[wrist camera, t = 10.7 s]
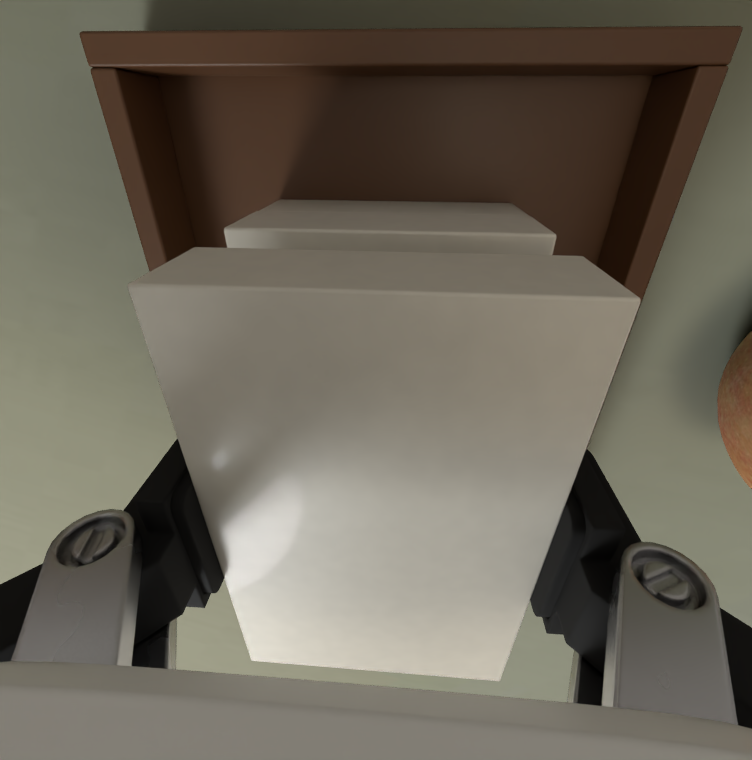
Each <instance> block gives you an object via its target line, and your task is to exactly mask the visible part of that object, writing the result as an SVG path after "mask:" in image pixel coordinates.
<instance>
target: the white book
mask: <svg viewBox="0 0 752 760" xmlns="http://www.w3.org/2000/svg"><path fill="white" fill-rule="evenodd" d="M128 290H129V293H130V296H131V299H132V302H133V305H134V308H135V311H136V314H137V317H138V320H139V323H140V326H141V329H142V332H143V335H144V338H145V341H146V344H147V347H148V350H149V353H150V356H151V359H152V362H153V365H154V368H155V371H156V374H157V377H158V380H159V383H160V386H161V389H162V392H163V395H164V398H165V401H166V404H167V408H168V411H169V414H170V417H171V420H172V423H173V426H174V429H175V432H176V435H177V438H178V441H179V444H180V447H181V450H182V453H183V456H184V459H185V462H186V465H187V468H188V471H189V474H190V477H191V480H192V483H193V486H194V489H195V492H196V495H197V498H198V501H199V504H200V507H201V510H202V513H203V516H204V519H205V522H206V525H207V528H208V531H209V534H210V537H211V540H212V543H213V546H214V549H215V552H216V555H217V558H218V561H219V564H220V567H221V570H222V573H223V576H224V579H225V582H226V585H227V588H228V591H229V594H230V597H231V600H232V603H233V606H234V609H235V612H236V615H237V618H238V621H239V624H240V627H241V630H242V633H243V636H244V639H245V642H246V645H247V648H248V651H249V654H250V657H251V660H252V661H261V662H273V663H286V664H298V665H310V666H322V667H334V668H346V669H359V670H371V671H383V672H395V673H407V674H419V675H431V676H444V677H456V678H468V679H480V680H492V681H500V679H501V677H502V674H503V671H504V669H505V666H506V663H507V661H508V658H509V655H510V653H511V650H512V647H513V644H514V642H515V639H516V636H517V634H518V631H519V628H520V626H521V623H522V620H523V618H524V615H525V612H526V609H527V607H528V604H529V601H530V599H531V596H532V593H533V591H534V588H535V585H536V583H537V580H538V577H539V574H540V572H541V569H542V566H543V564H544V561H545V558H546V556H547V553H548V550H549V548H550V545H551V542H552V539H553V537H554V534H555V531H556V529H557V526H558V523H559V521H560V518H561V515H562V513H563V510H564V507H565V504H566V502H567V499H568V496H569V494H570V491H571V488H572V486H573V483H574V480H575V478H576V475H577V472H578V469H579V467H580V464H581V461H582V459H583V456H584V453H585V451H586V448H587V445H588V443H589V440H590V437H591V434H592V432H593V429H594V426H595V424H596V421H597V418H598V416H599V413H600V410H601V408H602V405H603V402H604V399H605V397H606V394H607V391H608V389H609V386H610V383H611V381H612V378H613V375H614V373H615V370H616V367H617V364H618V362H619V359H620V356H621V354H622V351H623V348H624V346H625V343H626V340H627V338H628V335H629V332H630V329H631V327H632V324H633V321H634V319H635V316H636V313H637V311H638V308H639V305H640V303H641V300H640V298H639V297H638V296H636V295H635V294H634V293H632V292H631V291H630V290H628V289H627V288H625V287H624V286H623V285H621V284H620V283H619V282H617V281H616V280H615V279H613V278H612V277H610V276H609V275H608V274H606V273H605V272H604V271H602V270H601V269H600V268H598V267H597V266H595V265H594V264H593V263H591V262H590V261H589V260H587V259H586V258H585V257H583V256H560V255H517V254H473V253H430V252H386V251H343V250H299V249H256V248H212V247H194V248H192V249H190V250H189V251H187V252H185V253H183V254H181V255H180V256H178V257H176V258H174V259H172V260H170V261H169V262H167V263H165V264H163V265H161V266H160V267H158V268H156V269H154V270H152V271H150V272H149V273H147V274H145V275H143V276H141V277H140V278H138V279H136V280H134V281H132V282H130V283H129V284H128Z"/></svg>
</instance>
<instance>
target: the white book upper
mask: <svg viewBox="0 0 752 760" xmlns="http://www.w3.org/2000/svg"><path fill="white" fill-rule="evenodd" d="M224 233H225V239H226V244H227V248H256V249H299V250H343V251H386V252H430V253H473V254H517V255H552V254H553V250H554V246H555V241H556V234H555V233H553V232H552V231H551V230H549V229H548V228H546V227H545V226H544V225H542V224H541V223H539V222H538V221H537V220H535V219H534V218H533V217H531V216H516V215H457V214H399V213H341V212H283V211H256V212H254V213H252V214H250V215H248V216H246V217H244V218H242V219H240V220H238V221H237V222H235V223H233V224H231V225H229V226H227V227H225V228H224Z"/></svg>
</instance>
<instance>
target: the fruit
mask: <svg viewBox="0 0 752 760" xmlns="http://www.w3.org/2000/svg"><path fill="white" fill-rule="evenodd" d="M717 401H718V422H719V427H720V431H721V435H722V438H723V441H724V444H725V446H726V449H727V452H728V454H729V456H730V458H731V460H732V462H733V464H734V466H735V468H736V469H737V471H738V472H739V474H740V475H741V477H742V478H743V480H744V481H745V482H746V483H747V485H748V486H749V487H750V488H751V489H752V331H751V332H750V333H749V334H748V335H747V336H746V337H745V338H744V340H743V341H742V342H741V343H740V345H739V346H738V347H737V349H736V350H735V351H734V353H733V354H732V356H731V357H730V359H729V361H728V363H727V365H726V367H725V369H724V372H723V375H722V378H721V381H720V385H719V390H718V399H717Z"/></svg>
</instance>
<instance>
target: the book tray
mask: <svg viewBox="0 0 752 760" xmlns="http://www.w3.org/2000/svg"><path fill="white" fill-rule="evenodd" d="M741 32H742V27H741V26H666V27H545V28H424V29H304V30H183V31H82V32H80V38H81V41H82V44H83V48H84V51H85V55H86V58H87V61H88V64H89V66H90V67H93V68H92V69H91V74H92V78H93V81H94V84H95V88H96V91H97V95H98V98H99V101H100V105H101V108H102V111H103V115H104V118H105V122H106V125H107V128H108V132H109V135H110V139H111V142H112V145H113V149H114V152H115V156H116V159H117V162H118V166H119V169H120V173H121V176H122V179H123V183H124V186H125V189H126V193H127V196H128V200H129V203H130V206H131V210H132V213H133V217H134V220H135V223H136V227H137V230H138V234H139V237H140V240H141V244H142V247H143V250H144V254H145V257H146V261H147V264H148V267H149V271H152V270H154V269H156V268H158V267H160V266H161V265H163V264H165V263H167V262H169V261H170V260H172V259H174V258H176V257H178V256H180V255H181V254H183V253H185V252H187V251H189V250H190V249H192V248H194V247H212V248H227V244H226V239H225V233H224V228H225V227H227V226H229V225H231V224H233V223H235V222H237V221H238V220H240V219H242V218H244V217H246V216H248V215H250V214H252V213H254V212H256V211H260V210H261V209H263V208H265V207H267V206H269V205H271V204H273V203H274V202H276V201H278V200H280V199H284V200H347V201H410V202H473V203H512V204H513V205H515V206H516V207H518V208H519V209H520V210H522V211H523V212H525V213H526V214H527V215H529V216H531V217H533V218H534V219H535V220H537V221H538V222H539V223H541V224H542V225H544V226H545V227H546V228H548V229H549V230H551V231H552V232H553V233H555V234H556V241H555V246H554V250H553V254H552V255H560V256H583V257H585V258H586V259H587V260H589V261H590V262H591V263H593V264H594V265H595V266H597V267H598V268H600V269H601V270H602V271H604V272H605V273H606V274H608V275H609V276H610V277H612V278H613V279H615V280H616V281H617V282H619V283H620V284H621V285H623V286H624V287H625V288H627V289H628V290H630V291H631V292H632V293H634V294H635V295H636V296H638V297H639V298H640V300H641V302H642V299H643V296H644V294H645V291H646V288H647V286H648V283H649V280H650V278H651V275H652V272H653V269H654V267H655V264H656V261H657V259H658V256H659V253H660V251H661V248H662V245H663V243H664V240H665V237H666V234H667V232H668V229H669V226H670V224H671V221H672V218H673V216H674V213H675V210H676V208H677V205H678V202H679V200H680V197H681V194H682V191H683V189H684V186H685V183H686V181H687V178H688V175H689V173H690V170H691V167H692V165H693V162H694V159H695V157H696V154H697V151H698V148H699V146H700V143H701V140H702V138H703V135H704V132H705V130H706V127H707V124H708V122H709V119H710V116H711V113H712V111H713V108H714V105H715V103H716V100H717V97H718V95H719V92H720V89H721V87H722V84H723V81H724V79H725V76H726V73H727V70H728V66H726V65H728V64H729V63H730V61H731V59H732V56H733V53H734V51H735V48H736V45H737V43H738V40H739V37H740V35H741ZM640 304H641V303H640ZM639 307H640V305H639ZM638 310H639V308H638ZM637 312H638V311H637ZM636 315H637V313H636ZM635 318H636V316H635ZM634 321H635V319H634ZM634 321H633V323H634ZM632 326H633V324H632ZM631 329H632V327H631ZM631 329H630V331H631ZM629 334H630V332H629ZM628 337H629V335H628ZM627 339H628V338H627ZM626 342H627V340H626ZM625 345H626V343H625ZM624 347H625V346H624ZM623 350H624V348H623ZM622 353H623V351H622ZM621 356H622V354H621ZM621 356H620V358H621ZM619 361H620V359H619ZM618 364H619V362H618ZM618 364H617V366H618ZM616 369H617V367H616ZM615 372H616V370H615ZM614 374H615V373H614ZM613 377H614V375H613ZM612 380H613V378H612ZM611 382H612V381H611ZM610 385H611V383H610ZM609 388H610V386H609ZM608 390H609V389H608ZM607 393H608V391H607ZM606 396H607V394H606ZM605 399H606V397H605ZM605 399H604V401H605ZM603 404H604V402H603ZM602 407H603V405H602ZM601 409H602V408H601ZM600 412H601V410H600ZM599 415H600V413H599ZM598 417H599V416H598ZM597 420H598V418H597ZM596 423H597V421H596ZM595 425H596V424H595ZM594 428H595V426H594ZM593 431H594V429H593ZM592 434H593V432H592ZM592 434H591V436H592ZM590 439H591V437H590ZM589 442H590V440H589ZM588 444H589V443H588ZM587 447H588V445H587ZM586 450H587V448H586Z"/></svg>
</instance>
